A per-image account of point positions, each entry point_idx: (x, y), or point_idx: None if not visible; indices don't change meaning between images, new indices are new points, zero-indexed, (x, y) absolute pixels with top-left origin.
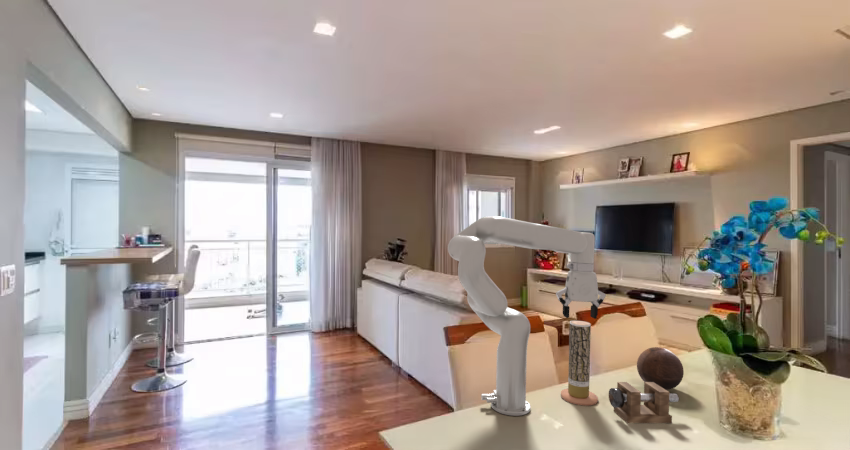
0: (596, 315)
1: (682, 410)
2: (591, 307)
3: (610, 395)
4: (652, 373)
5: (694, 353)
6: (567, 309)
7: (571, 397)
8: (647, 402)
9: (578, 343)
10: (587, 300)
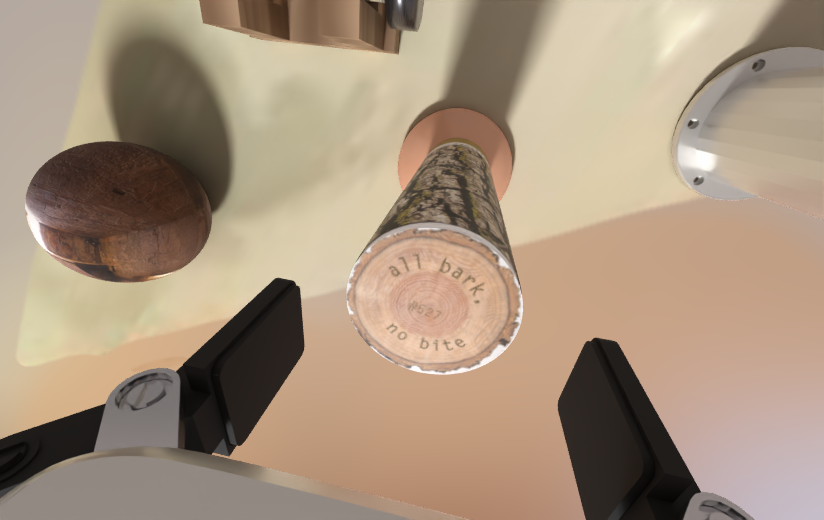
0: (261, 294)
1: (177, 33)
2: (247, 422)
3: (417, 12)
4: (169, 177)
5: (29, 361)
6: (663, 429)
7: (490, 156)
8: (279, 11)
9: (485, 196)
10: (302, 509)
